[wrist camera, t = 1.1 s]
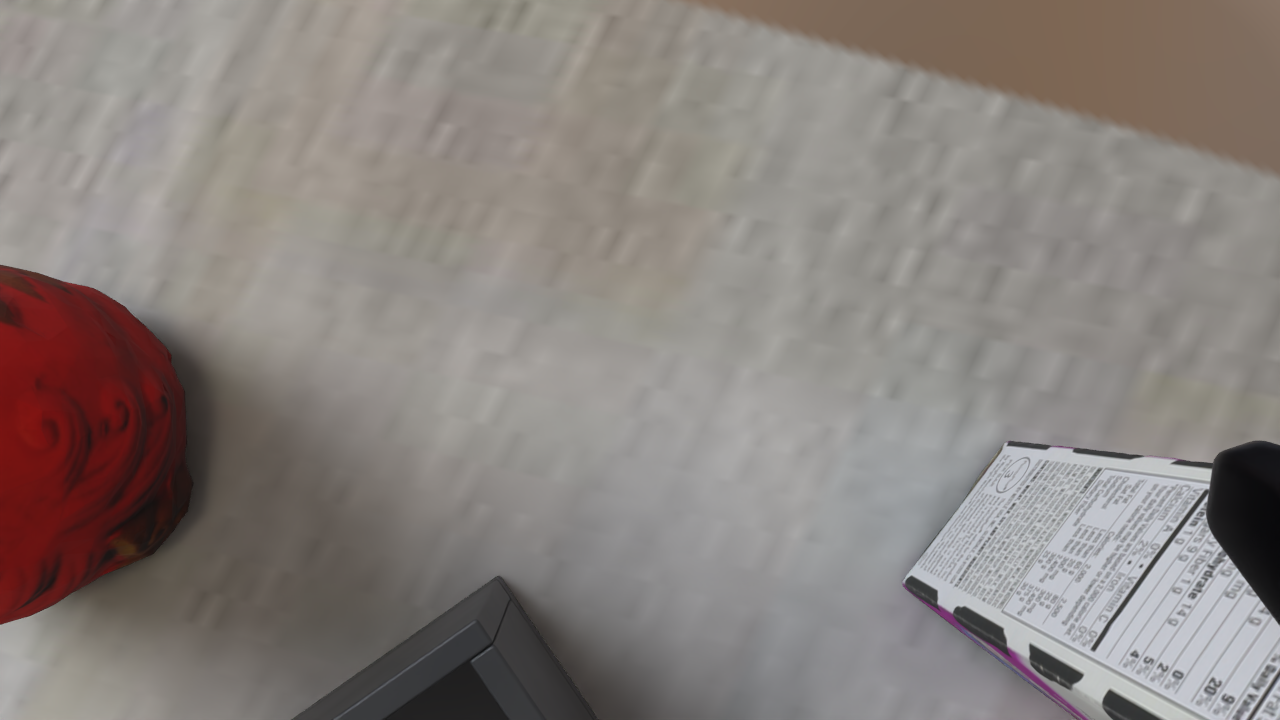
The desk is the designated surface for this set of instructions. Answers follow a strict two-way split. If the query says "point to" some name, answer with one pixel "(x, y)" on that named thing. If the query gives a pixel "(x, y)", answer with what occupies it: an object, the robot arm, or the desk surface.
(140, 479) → the red clay folk toy
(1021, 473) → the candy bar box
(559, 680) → the dark grey open box
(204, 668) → the desk surface
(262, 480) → the desk surface
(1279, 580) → the robot arm
